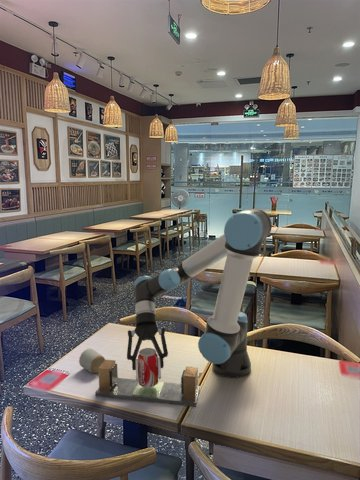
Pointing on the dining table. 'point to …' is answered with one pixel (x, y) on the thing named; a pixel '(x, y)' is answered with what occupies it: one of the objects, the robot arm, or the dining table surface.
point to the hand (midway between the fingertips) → (148, 378)
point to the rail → (157, 394)
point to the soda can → (148, 367)
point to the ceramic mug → (91, 360)
